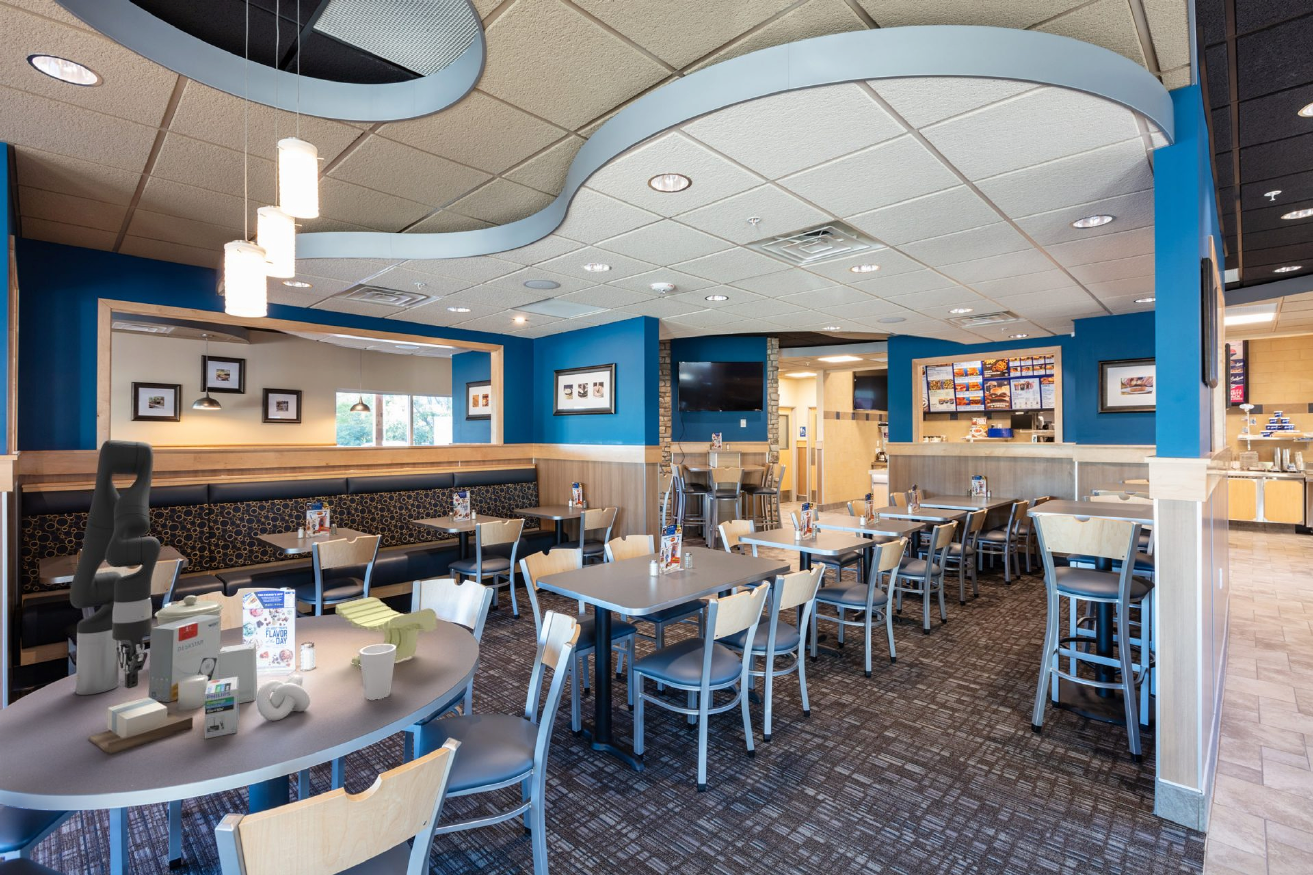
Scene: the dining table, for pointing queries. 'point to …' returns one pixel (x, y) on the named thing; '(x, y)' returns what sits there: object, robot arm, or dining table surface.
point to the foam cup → (377, 669)
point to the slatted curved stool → (388, 623)
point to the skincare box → (240, 668)
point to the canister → (187, 610)
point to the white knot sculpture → (282, 698)
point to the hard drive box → (183, 654)
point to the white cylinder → (192, 692)
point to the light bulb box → (221, 707)
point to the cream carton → (136, 716)
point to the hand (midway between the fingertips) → (131, 686)
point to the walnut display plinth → (140, 735)
